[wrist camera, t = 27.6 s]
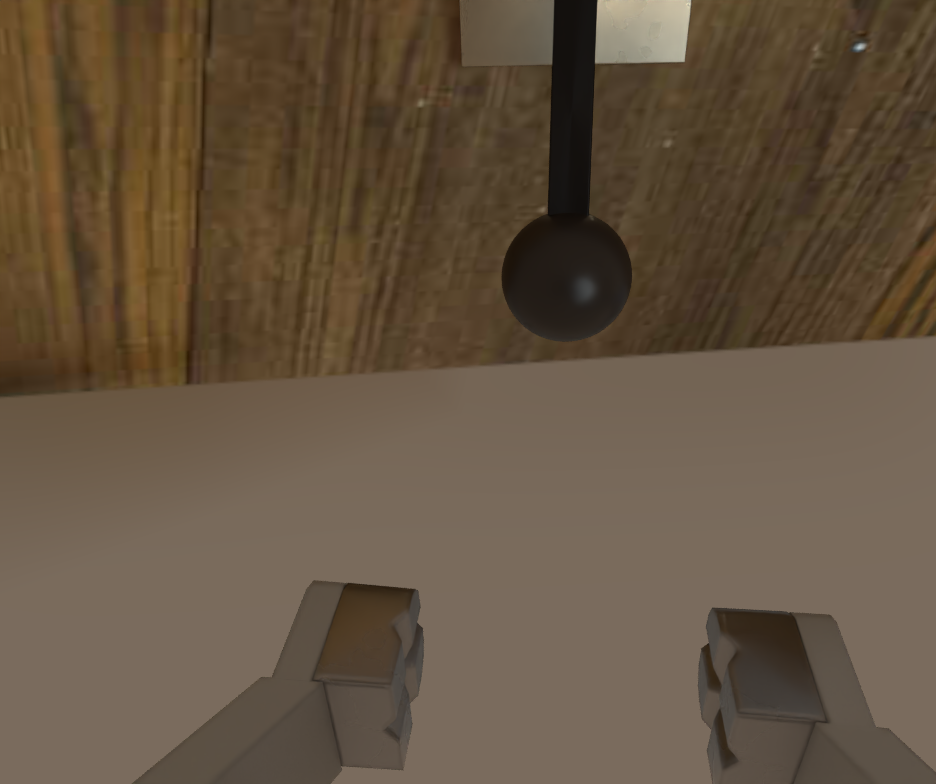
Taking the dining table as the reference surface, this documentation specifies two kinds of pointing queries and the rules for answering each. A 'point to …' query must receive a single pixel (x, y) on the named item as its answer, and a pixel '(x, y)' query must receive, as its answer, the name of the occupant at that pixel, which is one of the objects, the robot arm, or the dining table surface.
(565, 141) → the lever
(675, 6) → the bracket
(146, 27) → the dining table surface
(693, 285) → the dining table surface
